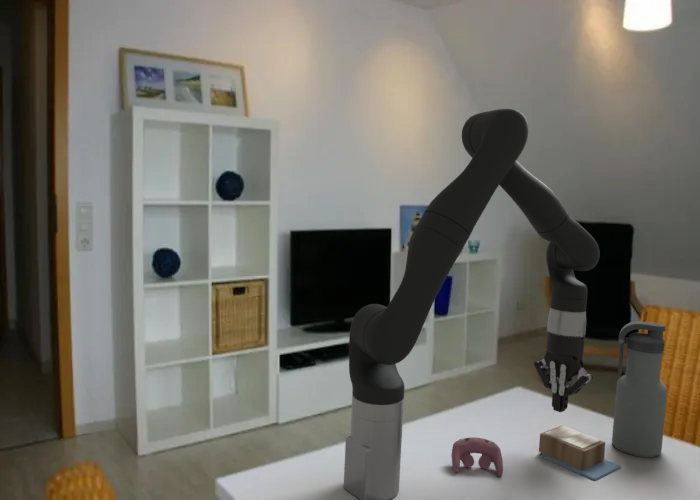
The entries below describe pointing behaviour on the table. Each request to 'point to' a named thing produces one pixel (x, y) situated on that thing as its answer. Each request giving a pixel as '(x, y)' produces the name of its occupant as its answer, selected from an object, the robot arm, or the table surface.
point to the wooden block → (572, 447)
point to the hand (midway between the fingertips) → (559, 410)
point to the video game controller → (476, 445)
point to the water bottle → (640, 392)
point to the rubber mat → (592, 472)
